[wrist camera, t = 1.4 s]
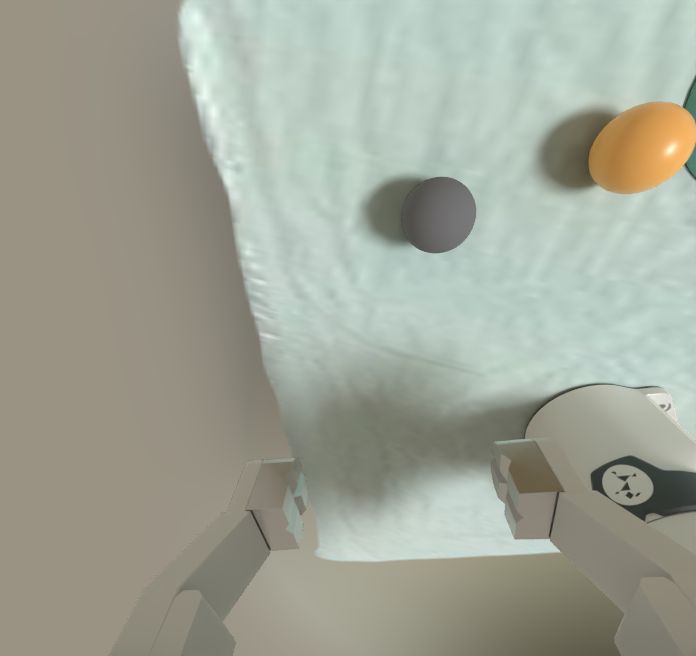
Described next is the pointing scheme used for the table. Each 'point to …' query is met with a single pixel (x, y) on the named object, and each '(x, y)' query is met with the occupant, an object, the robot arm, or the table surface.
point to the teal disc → (695, 108)
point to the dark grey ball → (438, 215)
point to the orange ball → (642, 147)
